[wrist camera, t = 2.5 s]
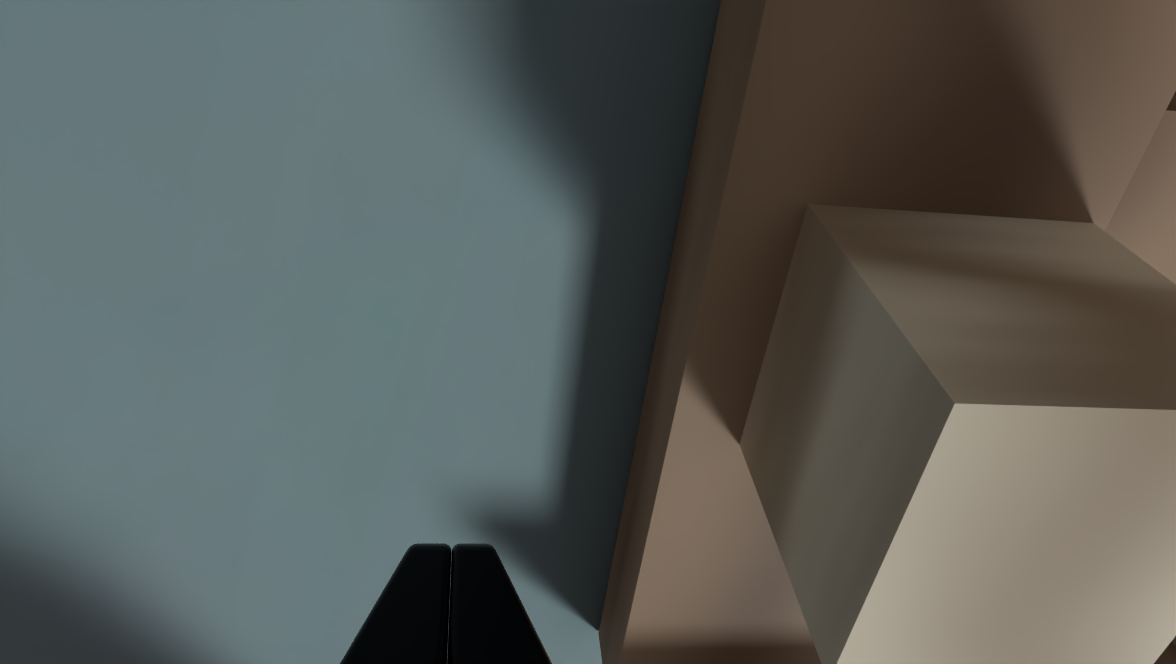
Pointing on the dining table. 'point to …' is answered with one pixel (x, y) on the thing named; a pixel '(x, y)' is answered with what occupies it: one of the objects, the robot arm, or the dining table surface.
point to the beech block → (971, 440)
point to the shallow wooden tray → (866, 180)
